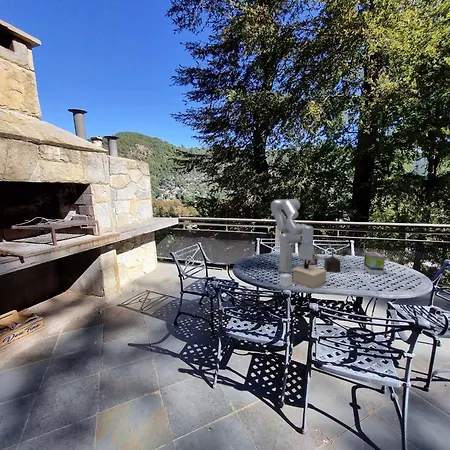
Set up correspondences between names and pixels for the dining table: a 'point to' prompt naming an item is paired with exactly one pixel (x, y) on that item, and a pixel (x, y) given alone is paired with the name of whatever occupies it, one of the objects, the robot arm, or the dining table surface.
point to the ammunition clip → (314, 260)
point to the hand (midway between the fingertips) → (306, 268)
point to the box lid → (310, 270)
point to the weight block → (285, 280)
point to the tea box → (374, 262)
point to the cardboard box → (309, 279)
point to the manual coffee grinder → (333, 263)
